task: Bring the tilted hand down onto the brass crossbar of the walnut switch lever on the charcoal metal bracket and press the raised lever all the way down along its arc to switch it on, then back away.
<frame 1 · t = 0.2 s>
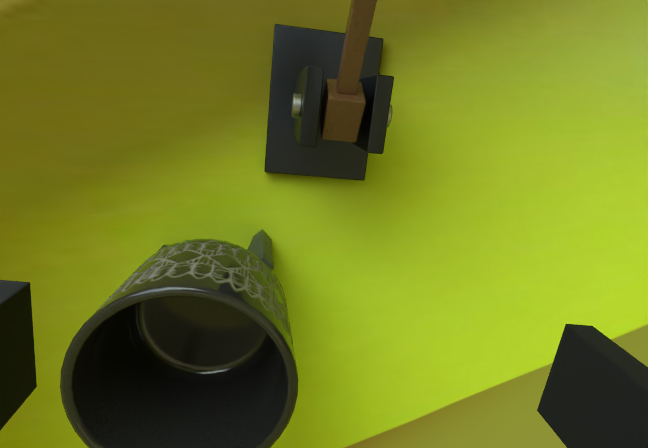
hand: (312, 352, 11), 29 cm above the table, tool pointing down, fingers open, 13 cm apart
bracket: (320, 106, 37), on the table
lever: (355, 42, 23), point 14 cm above the table, hinge at 30.0°
planter: (220, 269, 41), on the table
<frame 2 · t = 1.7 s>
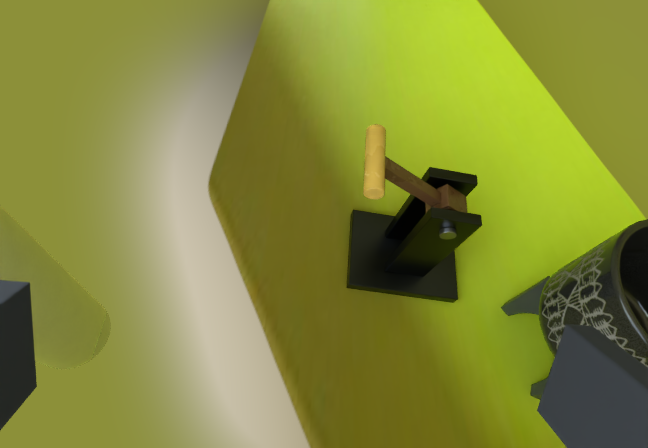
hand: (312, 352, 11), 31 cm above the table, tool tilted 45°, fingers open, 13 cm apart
bracket: (400, 257, 48), on the table
lever: (415, 186, 35), point 14 cm above the table, hinge at 30.0°
planter: (540, 346, 46), on the table
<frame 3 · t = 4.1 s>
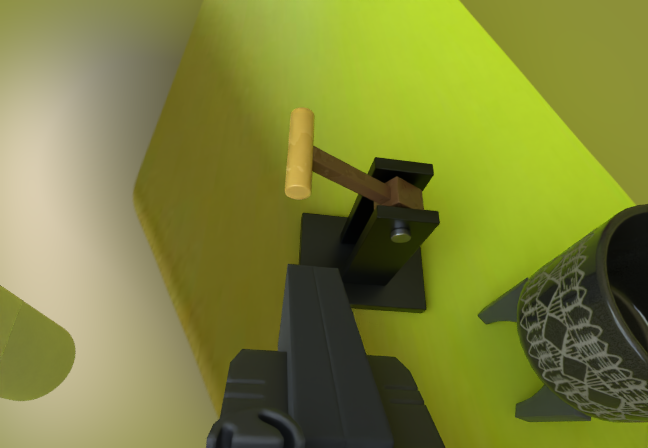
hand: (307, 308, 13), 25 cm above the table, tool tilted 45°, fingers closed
bracket: (359, 264, 42), on the table
lever: (356, 181, 29), point 14 cm above the table, hinge at 30.0°
planter: (525, 357, 40), on the table
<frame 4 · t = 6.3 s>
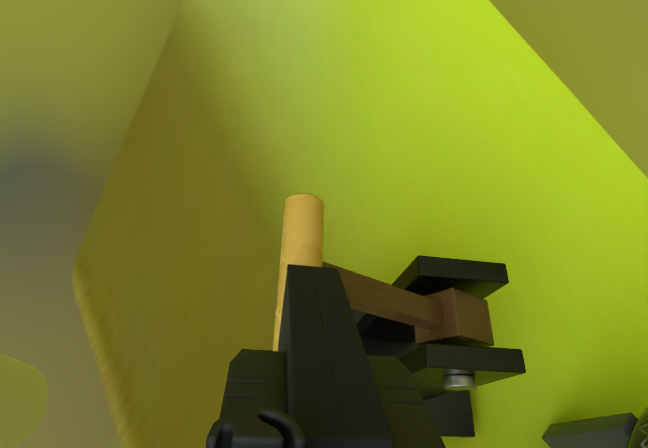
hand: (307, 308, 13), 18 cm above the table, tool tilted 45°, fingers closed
bracket: (381, 365, 31), on the table
lever: (391, 302, 18), point 14 cm above the table, hinge at 29.6°, touching gripper
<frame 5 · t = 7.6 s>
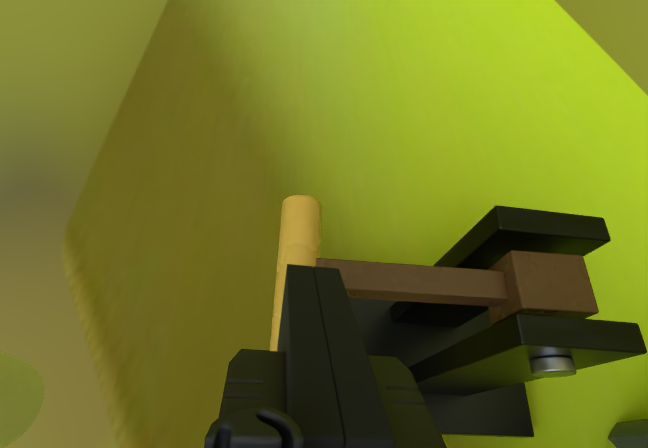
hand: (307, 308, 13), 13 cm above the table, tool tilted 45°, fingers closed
bracket: (420, 353, 26), on the table
lever: (427, 284, 16), point 12 cm above the table, hinge at -3.5°, touching gripper
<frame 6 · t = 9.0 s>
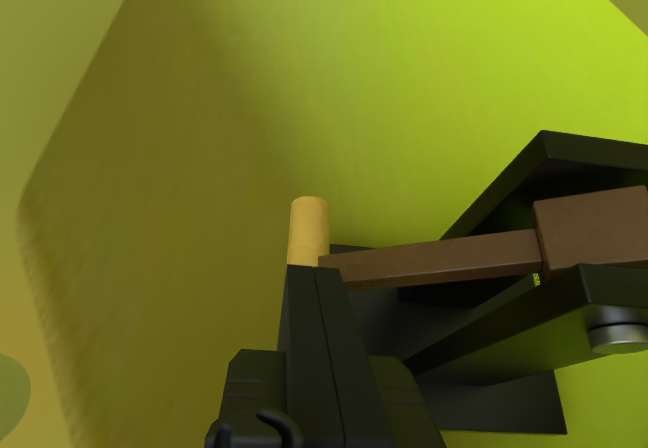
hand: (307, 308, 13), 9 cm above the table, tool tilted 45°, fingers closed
bracket: (432, 338, 23), on the table
lever: (443, 261, 14), point 10 cm above the table, hinge at -30.3°, touching gripper
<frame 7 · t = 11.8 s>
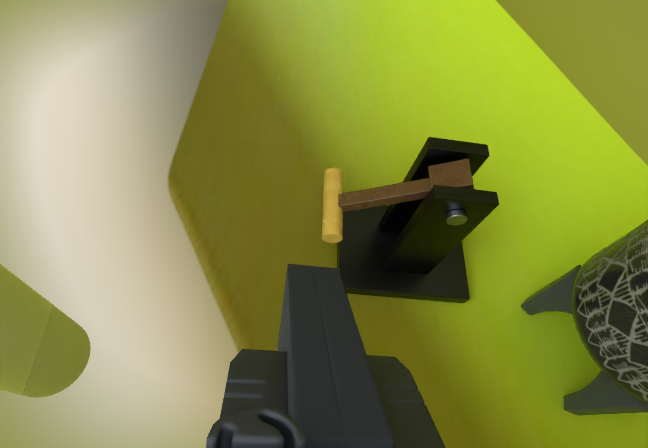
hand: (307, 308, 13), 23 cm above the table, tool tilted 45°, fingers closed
bracket: (398, 252, 41), on the table
lever: (393, 194, 32), point 10 cm above the table, hinge at -30.3°
planter: (570, 349, 39), on the table
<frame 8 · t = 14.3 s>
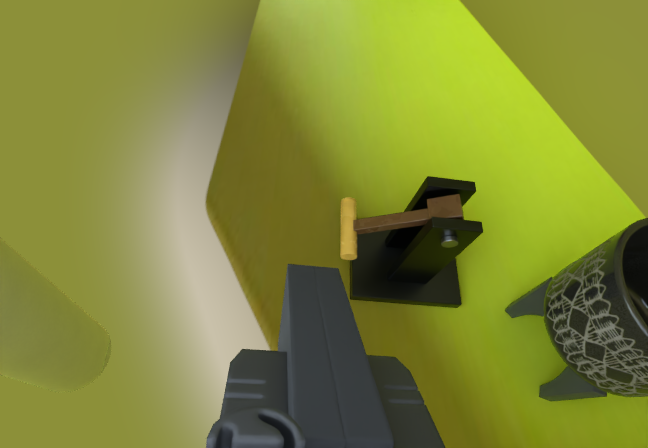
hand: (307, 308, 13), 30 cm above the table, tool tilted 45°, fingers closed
bracket: (401, 265, 48), on the table
lever: (398, 220, 39), point 10 cm above the table, hinge at -30.3°
planter: (546, 346, 46), on the table
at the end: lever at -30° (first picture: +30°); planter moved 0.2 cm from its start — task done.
